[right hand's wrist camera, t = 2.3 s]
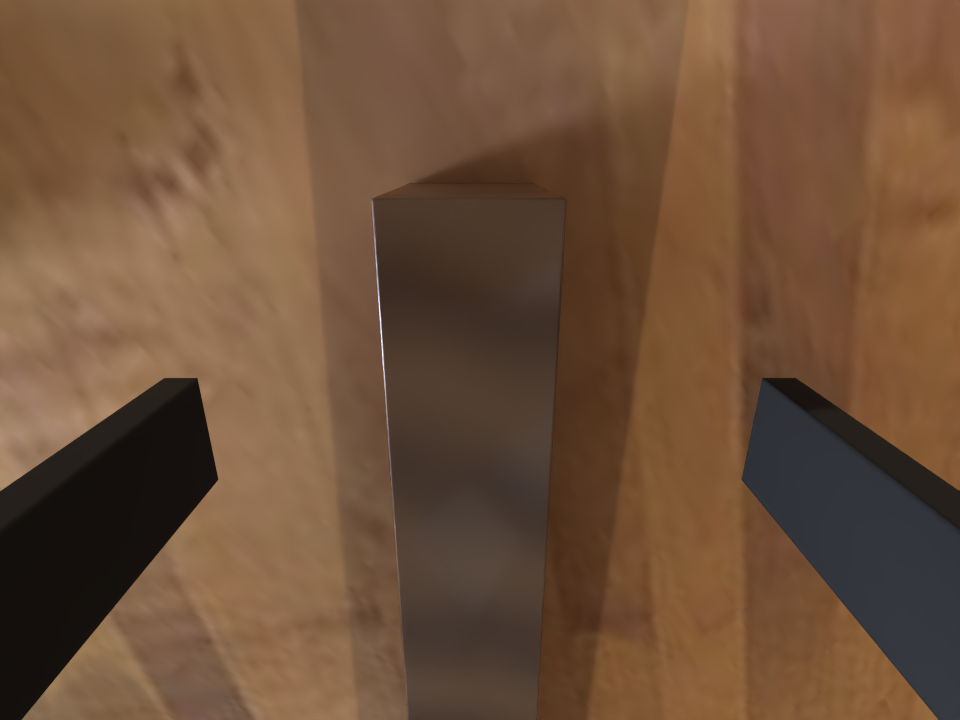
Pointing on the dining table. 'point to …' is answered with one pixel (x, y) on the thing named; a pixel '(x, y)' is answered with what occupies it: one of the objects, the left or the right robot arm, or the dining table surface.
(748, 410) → the dining table surface
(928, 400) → the dining table surface
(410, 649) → the bar
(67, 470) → the right robot arm
